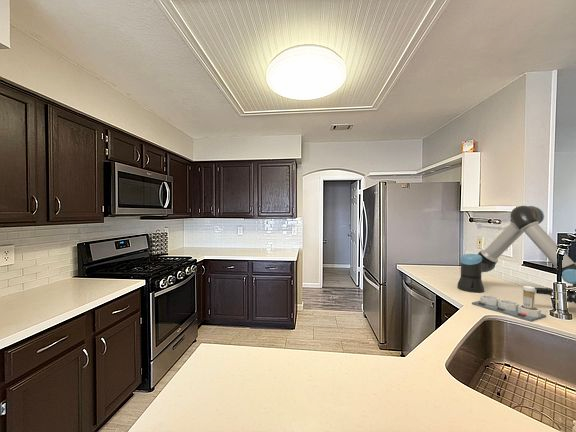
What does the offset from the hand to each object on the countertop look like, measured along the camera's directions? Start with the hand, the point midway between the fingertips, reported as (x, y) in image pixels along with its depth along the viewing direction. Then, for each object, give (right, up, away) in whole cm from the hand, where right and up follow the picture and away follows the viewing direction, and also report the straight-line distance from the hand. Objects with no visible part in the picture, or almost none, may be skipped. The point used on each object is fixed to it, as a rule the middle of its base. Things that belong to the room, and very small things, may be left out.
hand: (541, 295), depth 140 cm
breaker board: (-14, -9, +5) cm, 17 cm away
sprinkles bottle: (-8, -8, -2) cm, 12 cm away
